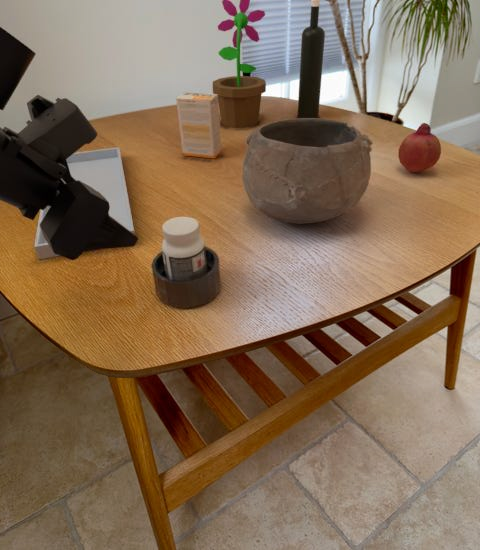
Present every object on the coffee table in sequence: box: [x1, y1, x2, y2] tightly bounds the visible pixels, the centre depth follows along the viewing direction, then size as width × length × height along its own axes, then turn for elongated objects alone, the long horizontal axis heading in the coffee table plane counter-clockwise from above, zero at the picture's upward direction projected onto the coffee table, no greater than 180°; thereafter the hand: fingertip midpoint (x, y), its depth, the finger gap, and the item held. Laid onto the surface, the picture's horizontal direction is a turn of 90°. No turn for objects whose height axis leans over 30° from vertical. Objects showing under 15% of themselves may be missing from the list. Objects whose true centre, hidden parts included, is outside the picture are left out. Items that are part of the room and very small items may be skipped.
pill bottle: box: [161, 216, 208, 280], centre depth 58 cm, size 6×6×10 cm
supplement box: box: [175, 92, 222, 159], centre depth 97 cm, size 8×5×13 cm, turn 71°
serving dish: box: [33, 146, 138, 260], centre depth 84 cm, size 15×39×2 cm, turn 16°
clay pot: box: [241, 117, 373, 225], centre depth 73 cm, size 21×21×15 cm
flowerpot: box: [212, 0, 267, 129], centre depth 111 cm, size 14×14×30 cm
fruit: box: [397, 122, 442, 173], centre depth 87 cm, size 8×8×10 cm
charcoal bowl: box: [150, 246, 222, 309], centre depth 60 cm, size 9×9×4 cm
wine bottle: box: [297, 0, 326, 119], centre depth 113 cm, size 6×6×30 cm
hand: (119, 224), depth 50 cm, fingers open, 9 cm apart
